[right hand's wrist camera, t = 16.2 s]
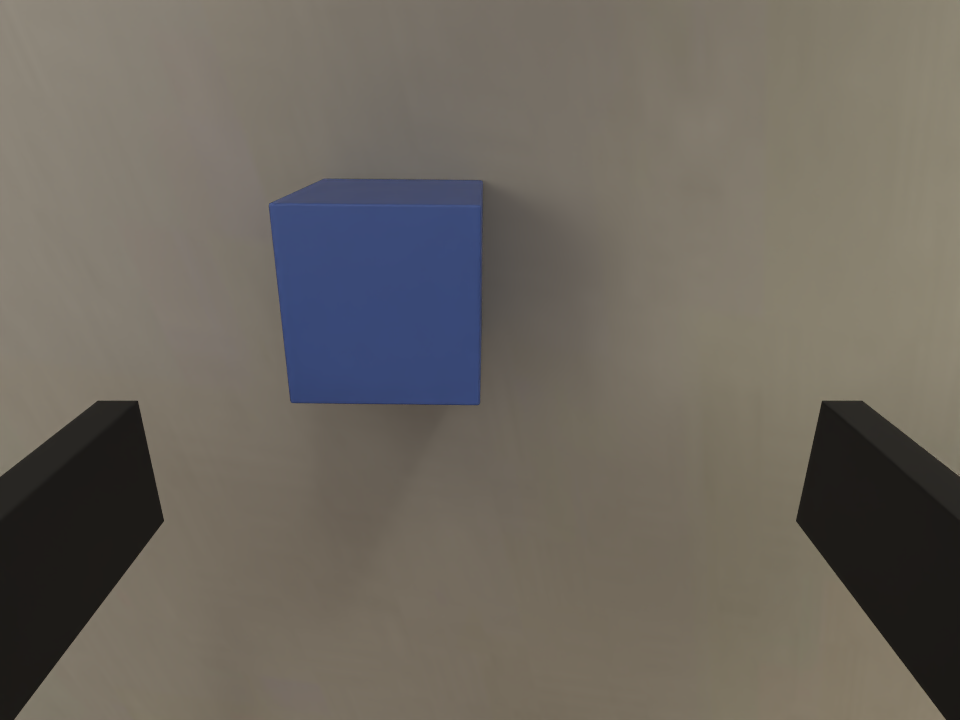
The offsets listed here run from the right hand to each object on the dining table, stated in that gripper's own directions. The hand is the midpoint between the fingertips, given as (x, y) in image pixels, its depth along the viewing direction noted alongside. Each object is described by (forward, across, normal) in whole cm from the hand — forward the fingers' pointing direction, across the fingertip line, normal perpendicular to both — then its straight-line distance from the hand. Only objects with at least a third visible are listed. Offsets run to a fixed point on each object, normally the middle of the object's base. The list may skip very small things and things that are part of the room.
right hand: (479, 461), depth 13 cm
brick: (+7, +2, -2) cm, 8 cm away
